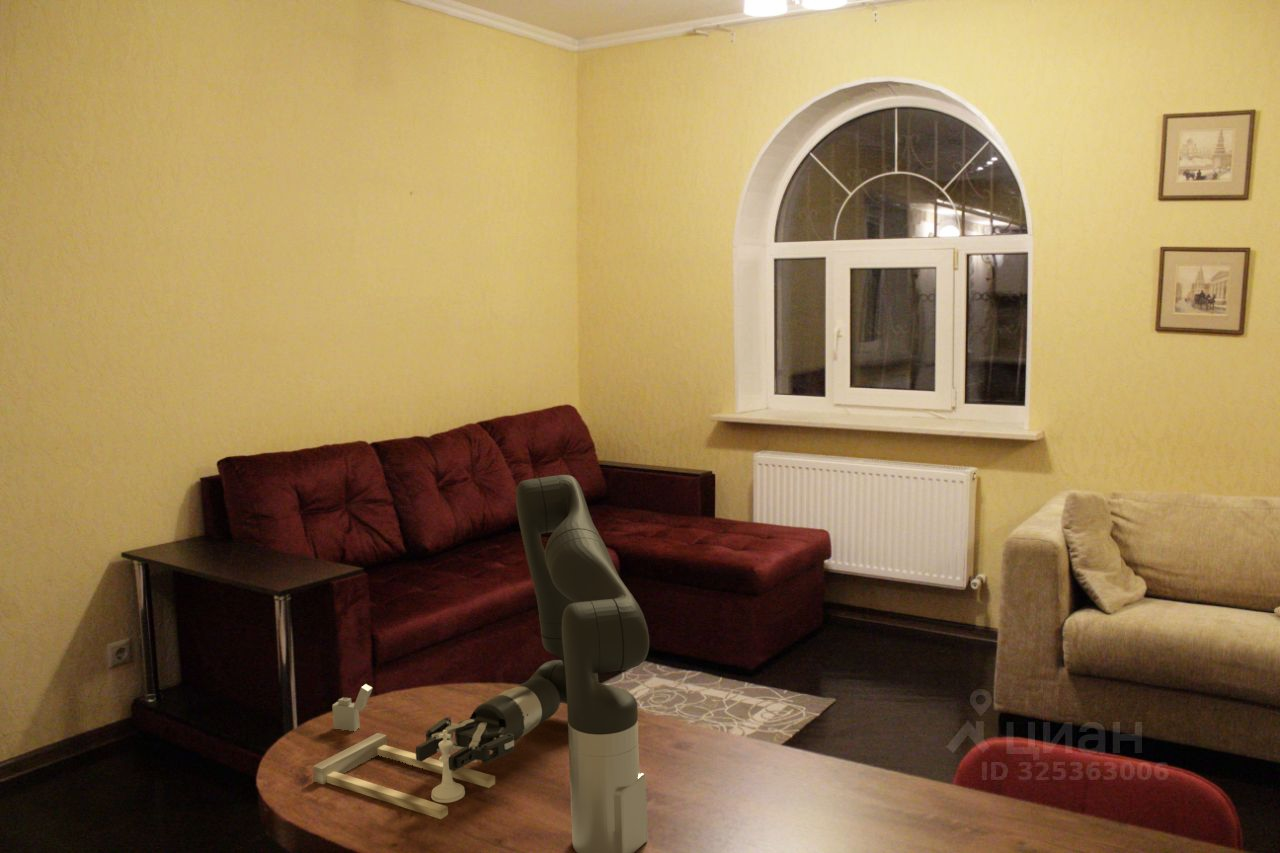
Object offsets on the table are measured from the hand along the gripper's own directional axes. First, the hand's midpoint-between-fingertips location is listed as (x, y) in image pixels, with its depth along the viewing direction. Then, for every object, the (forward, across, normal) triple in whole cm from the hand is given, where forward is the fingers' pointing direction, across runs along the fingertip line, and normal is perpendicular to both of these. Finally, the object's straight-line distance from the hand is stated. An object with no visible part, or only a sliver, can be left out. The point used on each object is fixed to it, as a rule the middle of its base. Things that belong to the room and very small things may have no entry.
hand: (434, 759), depth 152 cm
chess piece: (-2, 0, +7) cm, 7 cm away
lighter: (-12, -30, +7) cm, 33 cm away
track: (-2, -8, +6) cm, 11 cm away
